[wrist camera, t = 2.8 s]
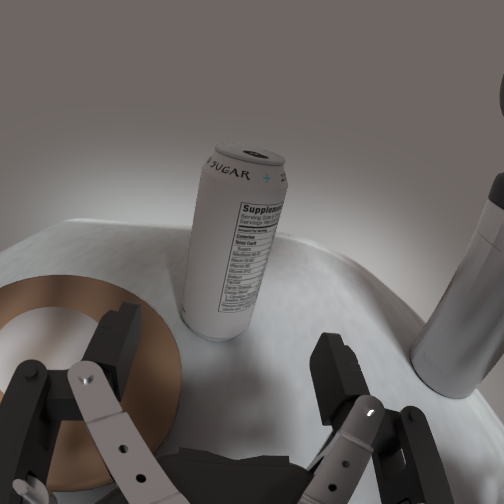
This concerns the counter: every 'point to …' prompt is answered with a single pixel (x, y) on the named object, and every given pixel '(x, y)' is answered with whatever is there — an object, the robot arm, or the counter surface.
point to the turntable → (71, 351)
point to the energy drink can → (231, 238)
